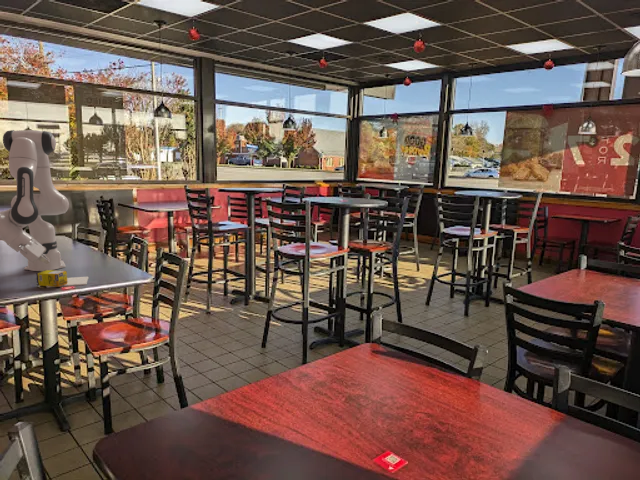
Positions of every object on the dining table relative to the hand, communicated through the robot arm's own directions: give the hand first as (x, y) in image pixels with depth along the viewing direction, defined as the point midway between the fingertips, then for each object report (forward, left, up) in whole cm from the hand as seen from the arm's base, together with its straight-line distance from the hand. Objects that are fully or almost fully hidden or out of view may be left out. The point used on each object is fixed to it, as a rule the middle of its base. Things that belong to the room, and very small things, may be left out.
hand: (48, 262), depth 217 cm
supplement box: (+2, -3, -7) cm, 8 cm away
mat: (0, +8, -10) cm, 13 cm away
